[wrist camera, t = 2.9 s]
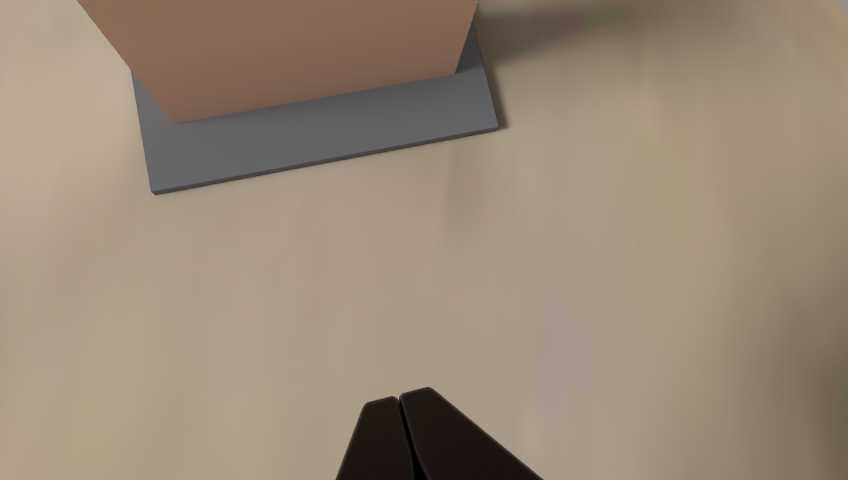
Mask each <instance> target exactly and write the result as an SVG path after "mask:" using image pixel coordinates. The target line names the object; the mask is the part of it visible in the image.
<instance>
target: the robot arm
mask: <svg viewBox="0 0 848 480" xmlns="http://www.w3.org/2000/svg"><path fill="white" fill-rule="evenodd" d="M335 480H543V479H542V478H541V477H540V476H538V475H537V474H536V473H535V472H534V471H532V470H531V469H530V468H529V467H527V466H526V465H525V464H524V463H523V462H521V461H520V460H519V459H518V458H516V457H515V456H514V455H513V454H512V453H510V452H509V451H508V450H507V449H506V448H504V447H503V446H502V445H501V444H499V443H498V442H497V441H496V440H495V439H493V438H492V437H491V436H490V435H489V434H487V433H486V432H485V431H484V430H482V429H481V428H480V427H479V426H478V425H476V424H475V423H474V422H473V421H472V420H470V419H469V418H468V417H467V416H465V415H464V414H463V413H462V412H461V411H459V410H458V409H457V408H456V407H455V406H453V405H452V404H451V403H450V402H448V401H447V400H446V399H445V398H444V397H442V396H441V395H440V394H439V393H437V392H436V391H435V390H434V389H432V388H430V387H425V388H421V389H417V390H413V391H410V392H406V393H403V394H401V395H400V397H399V401H398V399H397V398H396V397H394V396H390V397H386V398H383V399H379V400H375V401H371V402H368V403H366V404H365V405H364V406H363V408H362V411H361V413H360V416H359V418H358V421H357V424H356V426H355V429H354V432H353V434H352V437H351V440H350V442H349V445H348V448H347V450H346V453H345V456H344V458H343V461H342V464H341V466H340V469H339V471H338V474H337V477H336V479H335Z"/></svg>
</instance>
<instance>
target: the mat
mask: <svg viewBox="0 0 848 480" xmlns="http://www.w3.org/2000/svg"><path fill="white" fill-rule="evenodd" d="M131 74H132V80H133V86H134V92H135V98H136V104H137V110H138V116H139V122H140V128H141V134H142V140H143V146H144V152H145V158H146V164H147V170H148V176H149V182H150V188H151V192H152V193H153V194H154V195H157V194H162V193H168V192H173V191H178V190H184V189H189V188H194V187H200V186H205V185H210V184H215V183H221V182H226V181H231V180H237V179H242V178H247V177H253V176H258V175H263V174H269V173H274V172H279V171H285V170H290V169H295V168H300V167H306V166H311V165H316V164H322V163H327V162H332V161H338V160H343V159H348V158H354V157H359V156H364V155H369V154H375V153H380V152H385V151H391V150H396V149H401V148H407V147H412V146H417V145H423V144H428V143H433V142H438V141H444V140H449V139H454V138H460V137H465V136H470V135H476V134H481V133H486V132H492V131H496V130H497V128H498V127H499V126H498V122H497V118H496V114H495V110H494V106H493V102H492V98H491V94H490V90H489V86H488V82H487V78H486V74H485V70H484V66H483V61H482V57H481V53H480V49H479V45H478V41H477V37H476V33H475V29H474V25H473V21H472V22H471V25H470V28H469V31H468V34H467V37H466V41H465V44H464V47H463V50H462V53H461V56H460V59H459V62H458V65H457V68H456V71H455V74H454V75H448V76H442V77H437V78H431V79H425V80H420V81H414V82H408V83H403V84H397V85H391V86H386V87H380V88H374V89H369V90H363V91H357V92H352V93H346V94H340V95H335V96H329V97H324V98H318V99H312V100H307V101H301V102H295V103H290V104H284V105H278V106H273V107H267V108H261V109H256V110H250V111H244V112H239V113H233V114H227V115H222V116H216V117H210V118H205V119H199V120H194V121H188V122H182V123H177V124H173V123H172V122H171V120H170V119H169V118H168V117H167V115H166V114H165V113H164V111H163V110H162V109H161V108H160V106H159V105H158V104H157V102H156V101H155V100H154V99H153V97H152V96H151V95H150V93H149V92H148V91H147V90H146V88H145V87H144V86H143V84H142V83H141V82H140V81H139V79H138V78H137V77H136V75H135V74H134V73H133V72H132V70H131Z"/></svg>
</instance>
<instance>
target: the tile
mask: <svg viewBox="0 0 848 480" xmlns="http://www.w3.org/2000/svg"><path fill="white" fill-rule="evenodd" d="M77 1H78V2H79V3H80V5H81V6H82V7H83V9H84V10H85V11H86V12H87V14H88V15H89V16H90V18H91V19H92V20H93V21H94V23H95V24H96V25H97V27H98V28H99V29H100V30H101V32H102V33H103V34H104V36H105V37H106V38H107V39H108V41H109V42H110V43H111V45H112V46H113V47H114V48H115V50H116V51H117V52H118V54H119V55H120V56H121V57H122V59H123V60H124V61H125V63H126V64H127V65H128V66H129V68H130V69H131V70H132V72H133V73H134V74H135V75H136V77H137V78H138V79H139V81H140V82H141V83H142V84H143V86H144V87H145V88H146V90H147V91H148V92H149V93H150V95H151V96H152V97H153V99H154V100H155V101H156V102H157V104H158V105H159V106H160V108H161V109H162V110H163V111H164V113H165V114H166V115H167V117H168V118H169V119H170V120H171V122H172V123H173V124H177V123H182V122H188V121H194V120H199V119H205V118H210V117H216V116H222V115H227V114H233V113H239V112H244V111H250V110H256V109H261V108H267V107H273V106H278V105H284V104H290V103H295V102H301V101H307V100H312V99H318V98H324V97H329V96H335V95H340V94H346V93H352V92H357V91H363V90H369V89H374V88H380V87H386V86H391V85H397V84H403V83H408V82H414V81H420V80H425V79H431V78H437V77H442V76H448V75H454V74H455V71H456V68H457V65H458V62H459V59H460V56H461V53H462V50H463V47H464V44H465V41H466V37H467V34H468V31H469V28H470V25H471V22H472V19H473V16H474V13H475V10H476V7H477V4H478V1H479V0H77Z"/></svg>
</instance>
